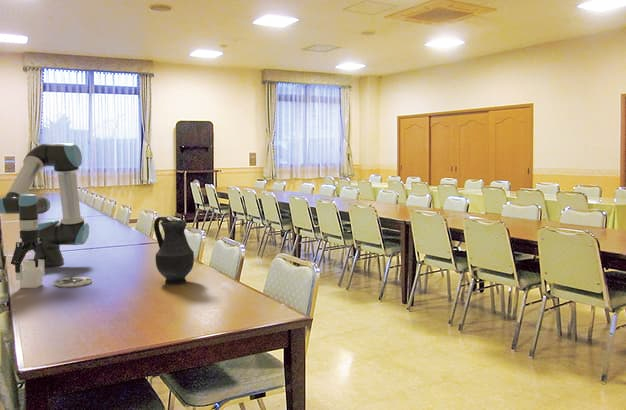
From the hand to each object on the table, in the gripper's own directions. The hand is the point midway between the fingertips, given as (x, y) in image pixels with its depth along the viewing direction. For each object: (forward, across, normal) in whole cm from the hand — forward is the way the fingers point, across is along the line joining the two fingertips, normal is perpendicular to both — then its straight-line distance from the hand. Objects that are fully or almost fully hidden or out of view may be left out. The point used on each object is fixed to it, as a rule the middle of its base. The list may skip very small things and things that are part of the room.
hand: (30, 276), depth 258 cm
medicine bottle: (+4, 0, 0) cm, 5 cm away
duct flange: (+4, +10, -14) cm, 18 cm away
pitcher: (+4, +25, -56) cm, 61 cm away
